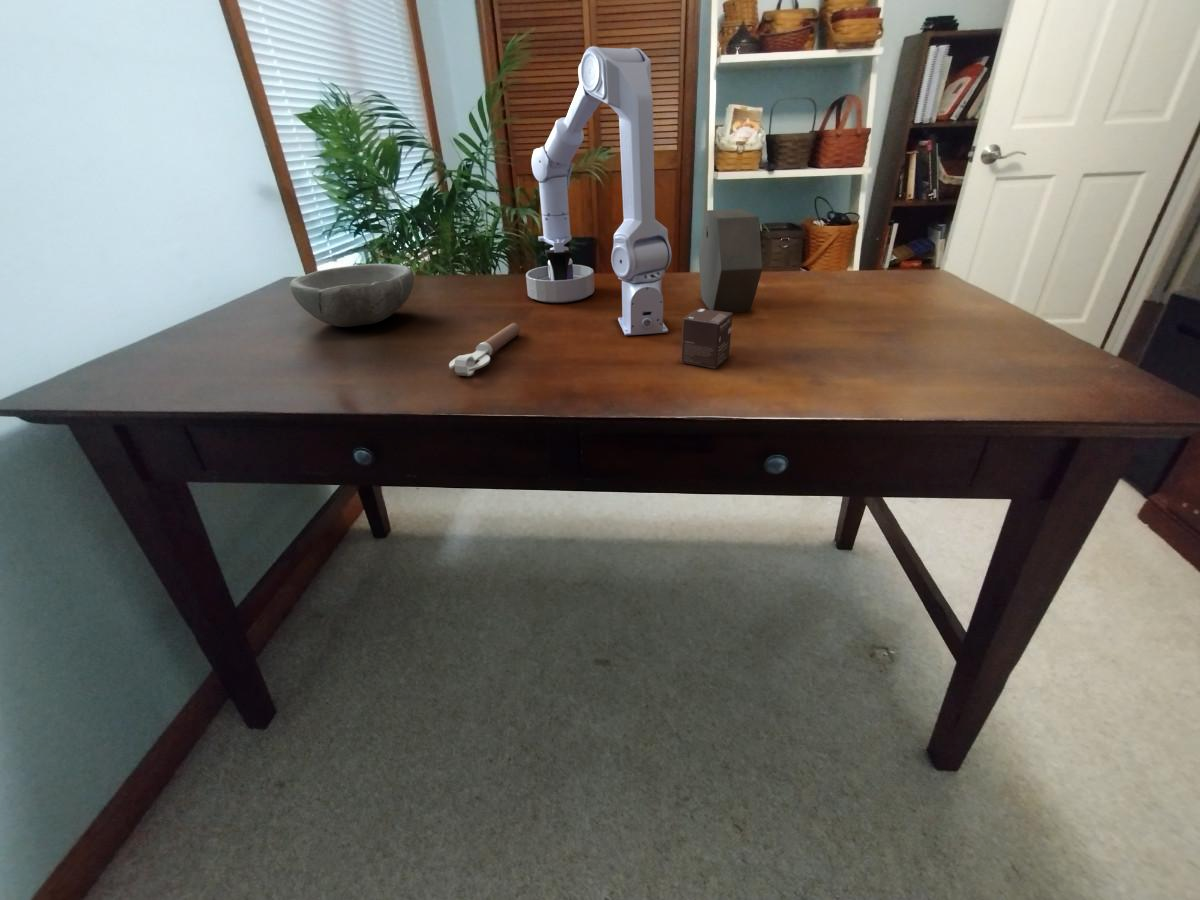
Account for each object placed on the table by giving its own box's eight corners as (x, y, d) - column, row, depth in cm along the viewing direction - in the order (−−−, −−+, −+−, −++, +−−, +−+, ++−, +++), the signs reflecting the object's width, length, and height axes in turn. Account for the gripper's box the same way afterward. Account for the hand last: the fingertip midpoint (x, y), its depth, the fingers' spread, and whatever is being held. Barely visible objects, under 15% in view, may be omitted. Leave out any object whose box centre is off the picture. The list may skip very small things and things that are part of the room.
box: (715, 370, 84) (719, 323, 80) (679, 363, 87) (681, 318, 83) (729, 356, 88) (733, 312, 84) (695, 350, 91) (697, 307, 87)
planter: (764, 297, 99) (757, 186, 100) (722, 300, 99) (715, 188, 99) (738, 322, 116) (732, 227, 116) (703, 324, 116) (696, 229, 116)
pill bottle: (579, 292, 122) (576, 247, 117) (562, 297, 119) (558, 251, 114) (562, 288, 125) (559, 244, 120) (545, 294, 122) (541, 248, 117)
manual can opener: (494, 333, 102) (492, 317, 101) (524, 334, 101) (523, 318, 100) (445, 377, 85) (441, 359, 84) (480, 379, 84) (477, 361, 83)
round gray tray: (597, 301, 117) (596, 278, 115) (528, 306, 116) (525, 283, 114) (590, 284, 130) (589, 262, 128) (528, 288, 129) (526, 266, 126)
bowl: (440, 306, 119) (431, 259, 114) (389, 342, 100) (375, 288, 95) (345, 304, 123) (332, 258, 118) (279, 339, 104) (260, 286, 99)
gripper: (535, 210, 119) (541, 273, 126) (536, 220, 107) (543, 289, 114) (567, 208, 120) (571, 271, 127) (572, 218, 107) (576, 287, 115)
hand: (560, 279), depth 120 cm, fingers open, 6 cm apart
